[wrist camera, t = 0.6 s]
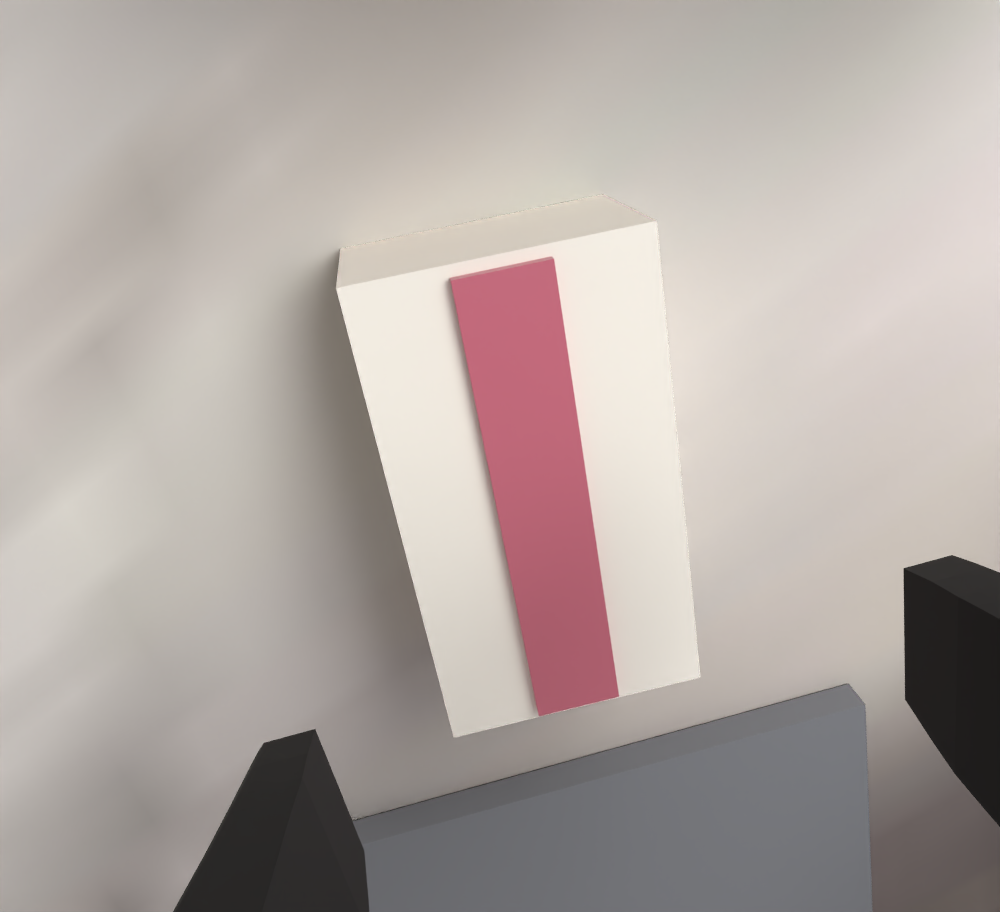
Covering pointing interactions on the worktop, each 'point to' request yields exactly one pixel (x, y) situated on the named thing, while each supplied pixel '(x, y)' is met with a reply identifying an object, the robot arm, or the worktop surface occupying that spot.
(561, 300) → the card deck
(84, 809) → the worktop surface
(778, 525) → the worktop surface
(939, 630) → the robot arm
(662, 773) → the mat
